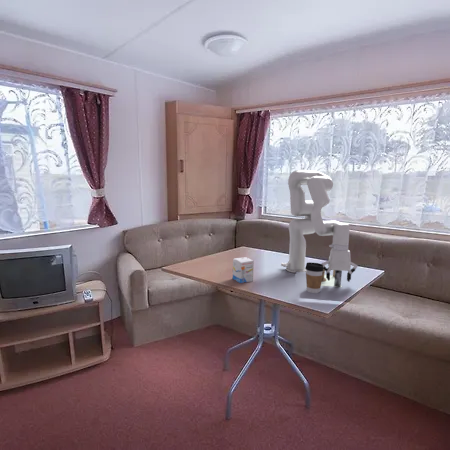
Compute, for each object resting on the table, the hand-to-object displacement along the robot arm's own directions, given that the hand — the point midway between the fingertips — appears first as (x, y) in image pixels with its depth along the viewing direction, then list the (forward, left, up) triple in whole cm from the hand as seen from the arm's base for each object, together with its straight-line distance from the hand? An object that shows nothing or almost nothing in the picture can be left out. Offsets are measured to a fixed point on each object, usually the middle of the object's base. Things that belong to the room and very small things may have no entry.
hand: (338, 280), depth 157 cm
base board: (-4, +8, -4) cm, 10 cm away
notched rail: (-4, +16, -3) cm, 17 cm away
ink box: (-49, +3, -5) cm, 49 cm away
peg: (0, 0, -3) cm, 3 cm away
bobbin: (-8, +8, -3) cm, 11 cm away
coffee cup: (-13, -10, -5) cm, 17 cm away
